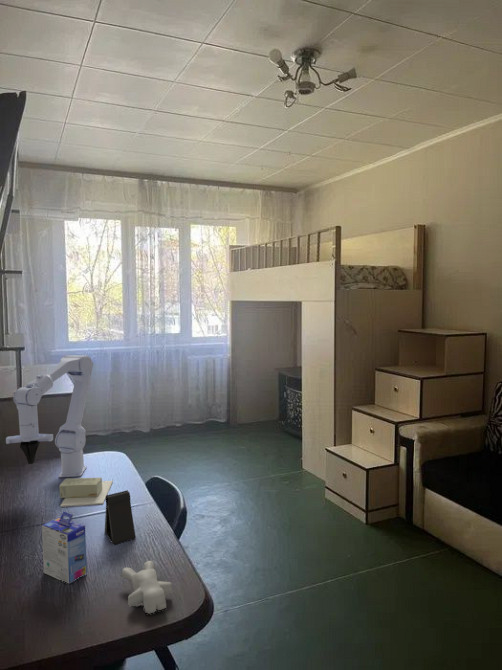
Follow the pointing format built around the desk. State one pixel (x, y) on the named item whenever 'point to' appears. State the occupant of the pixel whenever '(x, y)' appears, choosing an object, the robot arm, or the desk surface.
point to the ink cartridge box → (64, 548)
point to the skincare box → (80, 487)
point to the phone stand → (119, 517)
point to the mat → (89, 500)
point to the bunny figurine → (147, 588)
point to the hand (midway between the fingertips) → (31, 462)
